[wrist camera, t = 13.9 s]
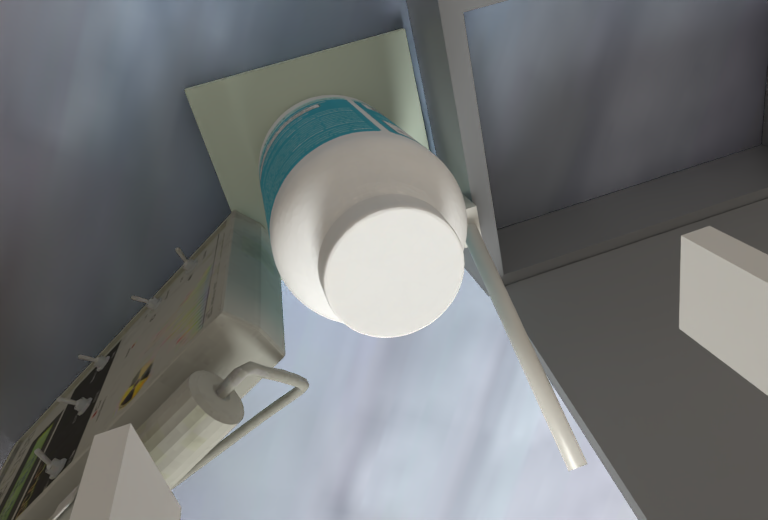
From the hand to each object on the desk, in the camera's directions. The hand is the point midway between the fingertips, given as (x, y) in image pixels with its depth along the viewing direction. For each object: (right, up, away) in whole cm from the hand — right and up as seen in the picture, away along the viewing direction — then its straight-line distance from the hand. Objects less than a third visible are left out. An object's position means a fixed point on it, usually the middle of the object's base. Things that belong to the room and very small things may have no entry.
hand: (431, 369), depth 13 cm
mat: (-4, +8, +17) cm, 19 cm away
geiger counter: (-16, -4, +20) cm, 26 cm away
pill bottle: (-4, +8, +17) cm, 19 cm away
